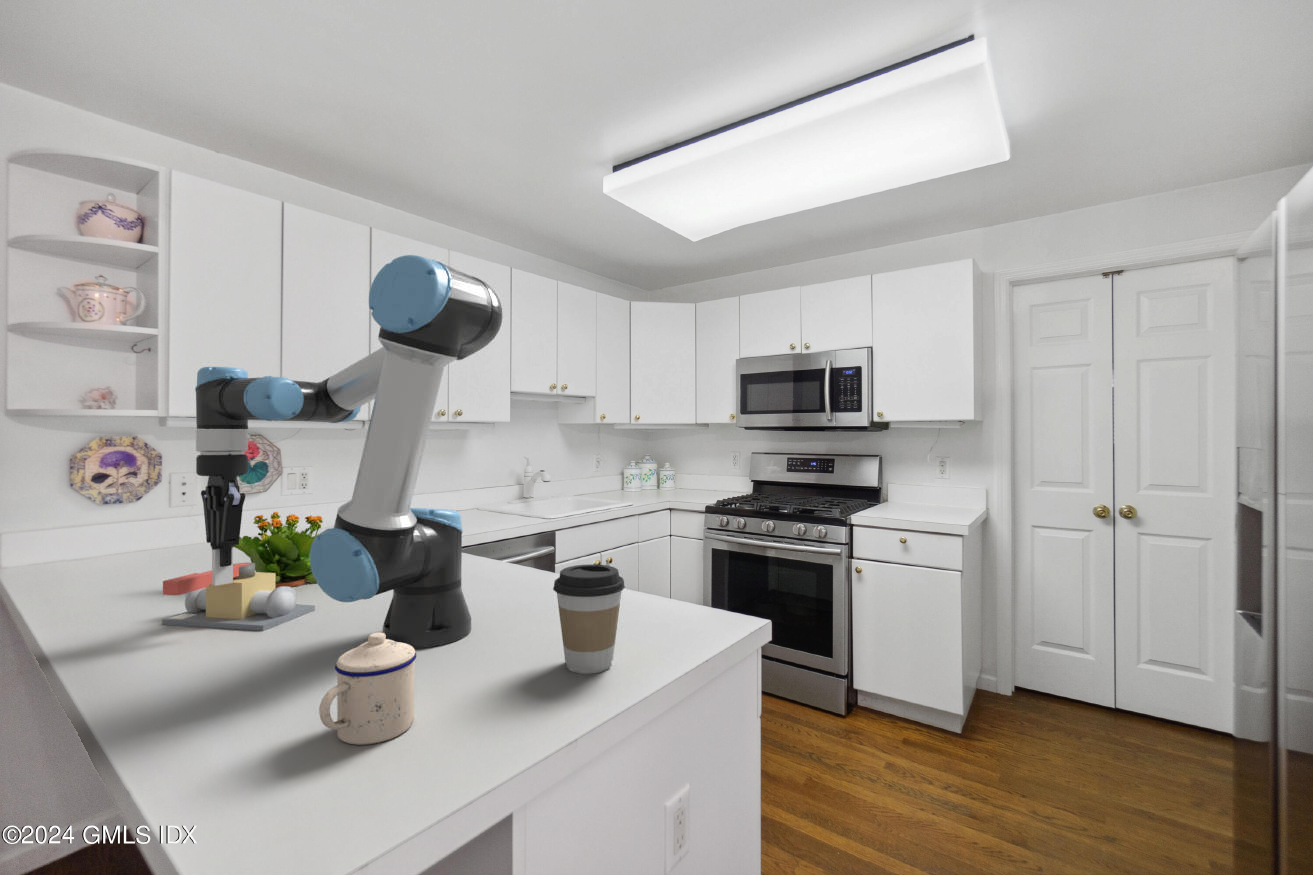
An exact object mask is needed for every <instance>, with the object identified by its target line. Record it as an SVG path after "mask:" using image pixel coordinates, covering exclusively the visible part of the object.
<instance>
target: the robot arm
mask: <svg viewBox="0 0 1313 875" xmlns="http://www.w3.org/2000/svg"><path fill="white" fill-rule="evenodd" d="M368 307H369V309H370V310H371V317H372V319H373V320H374V322H376V324H377V325H379V330H378V331H379V333H378V337H377V339H378V342H379V343H380V344H381V346H382V347H380V348H379V349H377V350H375V351H373V352H372V353H370V354H368V355H367V356H365V357H363V358H360V359H359V360H358V361H356V362H354V363H353V364H350V365H348V366H346V367H345V368H343V369H342V370H340V371H338V372H337V373H335V374H333V375H331V376H329V377H327V378H326V379H323V380H322V381H317V382H312V381H299V380H292V379H290V378H287V377H285V376H284V377H283V376H271V375H268V376H267V375H266V376H263V377H249V374H248V371H247V370H246V369H243V368H237V367H229V366H203V367H201V368H199V369H198V371H197V372H196V374H197V376H196V386H195V389H194V391H195V413H196V414H195V415H196V417H195V418H196V421H195V422H196V429H195V451H196V452H197V453H198V452H199V455H197V456H196V457H195V458H196V459H195V460H196V461H195V463H196V465H195V466H196V468H195V470H196V475H197V476H200V477H207V484H206V486H205V489H203V490H201V492H200V496H201V499H202V504H203V512H204V513H203V515H204V525H205V535H206V536H205V537H206V539H205V540H206V543H207V544H208V543H210V544H209V545H210V547H211V570H212V585H214V586H217V585H223V584H228V583H233V564H234V548H235V547H234V546H235V545H238V544H239V537H241V536H240V535H241V526H242V519H243V507H244V503H245V500H246V493H245V492H240V490H241V488H240V485H239V481H238V476H242V475H244V476H245V475H247V473H248V472H249V456H248V455H247V454H245V453H244V452H247V451H248V450H249V449H248V448H249V447H248V446H249V441H250V440H251V435H250V434H249V421H266V422H272V421H273V422H274V421H275V422H312V423H313V422H315V423H316V422H317V423H329V424H337V423H346V422H347V423H348V422H350V421H353V420H354V419H356V418H357V416H358V414H359V413H360V411H361V408H362V406H365V405H366V404H368V403H370V402H372V401H374V403H373V406H372V412H371V415H370V420H369V424H368V428H367V432H366V436H365V441H364V444H363V448H362V454H361V456H360V457H361V458H360V463H359V466H358V470H357V474H356V479H355V484H354V487H353V492H352V496H351V499H350V500H349V501H347V502H346V503H344V504H342V505H340V506H339V507H338V510H337V514H336V517H335V520H334V521H335V522H334V525H333V527H332V528H327V529H325V530H323V531H321V532H320V533H321V534H320V533H319V534H320V535H318V534H317V535H318V536H317V537H316V538H315V539H314V541H313V543H312V546H311V550H310V566H311V570H312V573H313V576H314V577H315V579H316V581H317V583H316V584H317V586H319V588H320V589H321V590H322V592H324V594H325V595H327V596H328V597H329V598H332V599H333V600H334V601H337V602H340V603H353V602H356V601H361V600H369V599H371V598H373V597H374V596H377V595H381V594H384V593H387V592H390V591H393V592H392V599H391V601H390V604H389V606H388V609H387V613H386V616H385V618H384V622H383V625H382V632H381V633H384V634H385V635H386V639H389V640H393V641H395V642H400V643H406V644H408V645H410V646H412V647H413V648H414V649H420V648H421V649H422V648H429V647H437V646H441V645H445V644H449V643H452V642H456V641H458V640H461V639H462V638H465V637H466V636H467V635H469V634H470V633H471V631H472V615H471V614H470V610H469V607H468V604H467V602H466V599H465V596H464V593H463V589H462V565H463V564H462V560H463V559H462V558H463V557H462V554H463V553H462V549H463V548H462V547H463V546H462V543H463V542H462V540H463V539H462V538H463V536H462V535H463V532H464V531H463V528H462V517H461V514H460V512H458V511H457V510H455V509H445V508H442V509H441V508H425V507H424V508H423V507H422V508H421V507H411V505H412V501H413V496H414V492H415V488H416V484H417V480H418V476H419V471H420V469H421V463H422V459H423V456H424V452H425V449H426V448H425V447H426V444H427V439H428V435H429V431H430V426H431V423H432V418H433V415H434V414H433V413H434V410H435V406H436V402H437V397H438V394H439V390H440V387H441V382H442V377H443V374H444V369H445V367H446V366H448V365H449V364H452V362H455V361H462V360H464V359H466V358H469V357H470V356H472V355H474V354H476V353H477V352H479V351H481V350H482V349H484V348H485V347H486V346H488V345H489V344H490V343H491V342H492V341H493V340H494V339H495V338H496V337H497V335H498V333H499V332H500V329H501V326H502V323H503V307H502V302H501V301H500V298H499V296H498V294H497V293H496V292H495V290H494V289H493V288H492V287H491V286H490V285H489V284H488V283H487V282H485V281H483V280H482V279H480V278H478V277H476V276H472V275H469V274H467V273H464V272H462V271H460V270H458V269H456V268H454V267H451V266H449V265H447V264H444V263H442V262H440V261H437V260H435V259H430V258H427V257H423V256H419V255H415V254H407V255H401V256H398V257H396V258H393V259H392V261H390V262H389V263H386V264H385V265H384V266H382V268H381V269H379V271H378V272H377V274H376V275H375V277H374V279H373V281H372V283H371V286H370V288H369V292H368Z"/></svg>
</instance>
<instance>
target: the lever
mask: <svg viewBox="0 0 1313 875" xmlns="http://www.w3.org/2000/svg"><path fill="white" fill-rule="evenodd" d="M255 572H256V571H255V563H251V562H241V563H240V562H239V563H233V580H239V579H247V578H251V577H254V576H255ZM211 583H212V569H211V570H208V571H204V572H200V573H199V572H194V573H191V574H190V573H189V574H186V575H183V576H178V577H173V578H170V579H166V580H163V581H162V596H163V595H164V596H182V595H184V594H188V592H192V591H196V590H199V589H203V588H206V587H209V584H211Z"/></svg>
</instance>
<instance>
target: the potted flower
mask: <svg viewBox="0 0 1313 875" xmlns="http://www.w3.org/2000/svg"><path fill="white" fill-rule="evenodd" d="M280 518H281V515H280V512H278V511H273V512H272V514H270V521H268V519H269V518H268V517H267V518H266V517H265V518H264V515H263V514H260V515H259V514H258V515H255V516H254V517H253V520H254V521H253V524H254V525H257V526H256V528H258V530H259V531H260V532H258V533H257V535H258V536H254V537H253V538H252V536H248V535H243V536H242V537H241V536H240V537H239V544H238V545H235V546H234V547H233V548H235V549H237V550H239V551H241V552H243V553H244V554H245V555H246V556H247V557H248V558H249V559H250V563H255V572H262V573H276V574H275V588H277V587H280V586H286V587H291V588H295V587H298V586H299V587H301V586H302V585H305V584H306V583H311V584H314V583H315V584H317V581H316V579H315V577H314V576H313V573H312V570H311V566H310V550H311V546H312V543H313V541H314V539H315V538H316V537H317V536H318V535H320V534H321V533H322V532H320V533H319V532H318V531H319V530H320V529H322V524H323V521H324V520H323V517H322V516H321V515H315V516H314V515H309V516H305V517H304V520H305V522H306V524H308V525H309V527H308V528H305V530H301V532H300V531H298V530H296V529H298V523H299V520H300V517H299V515H296V514H289V515H286V519H285V523H283V522H282V520H281V519H280ZM268 531H269V533H270V534H271V535H269V534H267V533H268ZM308 532H309V533H308ZM314 532H315V535H314V536H313V533H314ZM259 536H260V537H259Z"/></svg>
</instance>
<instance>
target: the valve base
mask: <svg viewBox="0 0 1313 875" xmlns="http://www.w3.org/2000/svg"><path fill="white" fill-rule="evenodd" d="M275 574H276V573H262V572H256V571H255V576H254V577H251V578H247V579H239V580H233V583H228V584H223V585H217V586H214V585H212V583H211V584H209V587H206V588H203V589H199V590H196V591H192V592H188V593H186V596H185V600H184V606H185V607H184V608H185V610H186V611H184V612H182V613H181V612H180V613H178V614H175V615H172V616H169V617H165V618H162V620H161V622H162V626H163V625H165V626H166V625H167V626H182V627H195V628H196V627H197V628H210V629H211V628H214V629H227V630H228V629H231V630H243V631H245V630H246V631H256V632H257V631H261V632H263V631H266V630H269V629H272V628H273V627H274V628H275V627H276V626H279V625H281V624H283V623H286V622H288V621H289V622H290V621H291V620H294V619H297V618H299V617H301V616H304V615H306V614H309V613H311V612H313V611H315V610H316V605H313V604H297V600H298V598H297V593H296V591H295V589H294V587H286V586H280V587H277V588H275Z"/></svg>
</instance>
